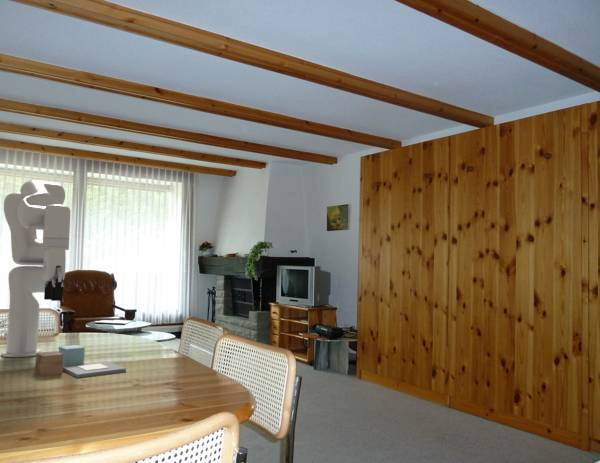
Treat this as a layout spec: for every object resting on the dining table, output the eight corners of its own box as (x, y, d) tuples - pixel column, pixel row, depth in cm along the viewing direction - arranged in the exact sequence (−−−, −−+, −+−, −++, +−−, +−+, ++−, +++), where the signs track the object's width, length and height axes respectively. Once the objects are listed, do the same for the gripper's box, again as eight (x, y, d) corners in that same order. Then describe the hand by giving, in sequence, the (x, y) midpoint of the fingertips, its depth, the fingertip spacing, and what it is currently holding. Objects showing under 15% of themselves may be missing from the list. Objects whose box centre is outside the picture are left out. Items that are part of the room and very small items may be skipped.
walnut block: (34, 372, 157) (36, 353, 157) (55, 370, 161) (56, 351, 162) (41, 376, 153) (42, 356, 153) (62, 374, 157) (63, 354, 157)
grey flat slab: (60, 369, 162) (60, 365, 162) (107, 364, 173) (107, 360, 173) (77, 377, 152) (77, 373, 152) (125, 371, 162) (126, 367, 163)
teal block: (57, 364, 169) (59, 346, 170) (76, 362, 173) (77, 344, 174) (64, 368, 165) (65, 349, 165) (83, 365, 169) (84, 347, 170)
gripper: (37, 245, 165) (34, 299, 164) (48, 242, 152) (45, 301, 150) (62, 246, 170) (59, 298, 168) (75, 243, 156) (73, 300, 155)
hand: (53, 300), depth 159 cm, fingers open, 9 cm apart
